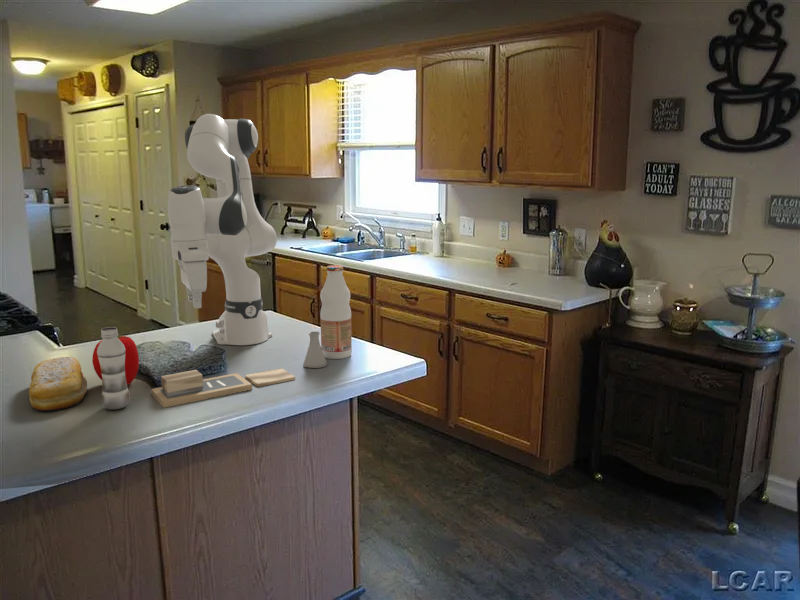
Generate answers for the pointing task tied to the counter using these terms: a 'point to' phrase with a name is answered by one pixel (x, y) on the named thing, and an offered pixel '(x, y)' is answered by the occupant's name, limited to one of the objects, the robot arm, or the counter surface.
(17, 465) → the counter surface
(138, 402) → the counter surface
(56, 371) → the bread
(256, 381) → the pad
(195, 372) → the block
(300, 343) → the counter surface
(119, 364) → the plastic bottle
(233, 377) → the chalkboard
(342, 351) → the fruit juice
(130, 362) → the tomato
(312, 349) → the flask
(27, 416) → the counter surface
